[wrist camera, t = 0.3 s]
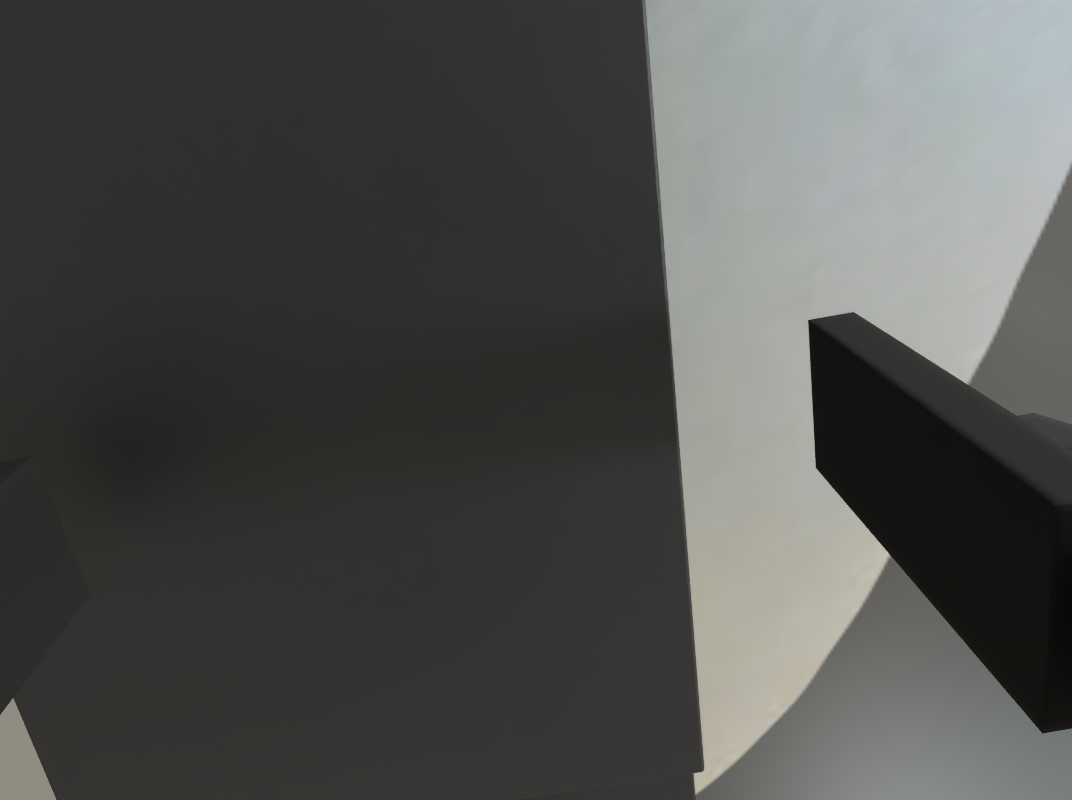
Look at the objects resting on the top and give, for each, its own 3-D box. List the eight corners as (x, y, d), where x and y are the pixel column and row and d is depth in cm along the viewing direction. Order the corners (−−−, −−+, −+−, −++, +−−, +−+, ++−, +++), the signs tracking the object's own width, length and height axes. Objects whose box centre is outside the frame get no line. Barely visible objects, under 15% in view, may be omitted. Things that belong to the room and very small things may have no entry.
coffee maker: (228, 44, 40) (-297, -28, 13) (530, 3, 40) (634, -155, 13) (330, 475, 47) (135, 988, 21) (583, 439, 47) (715, 902, 21)
